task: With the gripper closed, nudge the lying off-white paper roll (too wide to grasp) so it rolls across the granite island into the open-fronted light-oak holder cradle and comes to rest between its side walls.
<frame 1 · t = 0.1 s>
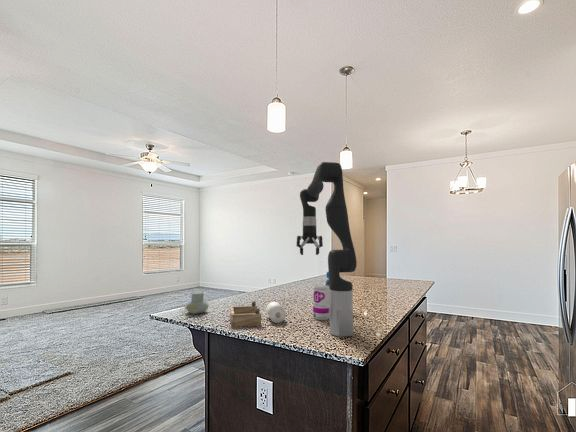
hand: (309, 254, 171), 29 cm above the table, fingers open, 8 cm apart
supplement can: (321, 318, 149), on the table
holder: (245, 321, 143), on the table
air freshener: (197, 313, 160), on the table
roll: (275, 311, 147), point 3 cm above the table
beverage bottle: (333, 309, 168), on the table
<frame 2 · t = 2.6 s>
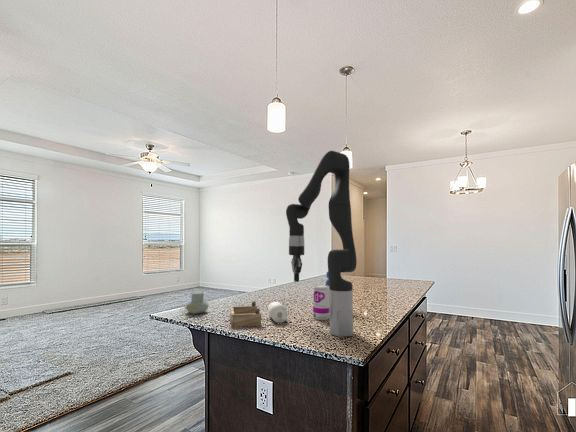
hand: (296, 281, 150), 17 cm above the table, fingers closed
roll: (277, 311, 147), point 3 cm above the table, tilted 14°
everything else where it was.
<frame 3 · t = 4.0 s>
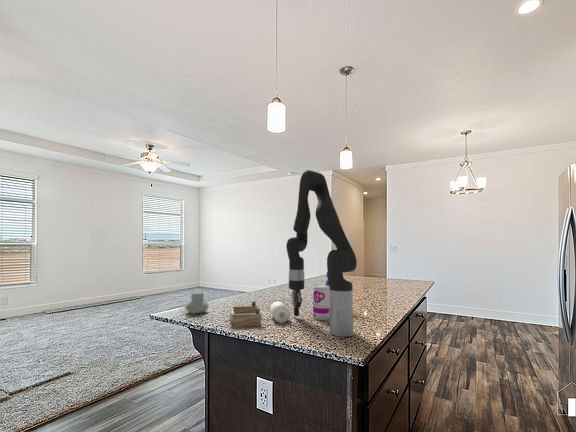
hand: (296, 315, 149), 1 cm above the table, fingers closed
roll: (279, 311, 147), point 3 cm above the table, tilted 30°
everything else where it was.
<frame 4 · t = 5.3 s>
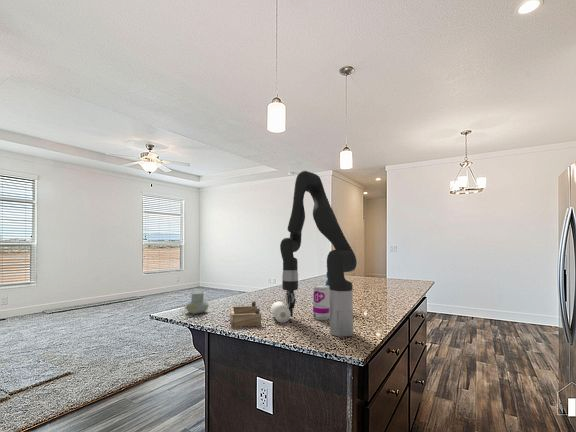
hand: (290, 316, 148), 1 cm above the table, fingers closed
roll: (280, 311, 147), point 3 cm above the table, tilted 38°, touching gripper
everything else where it was.
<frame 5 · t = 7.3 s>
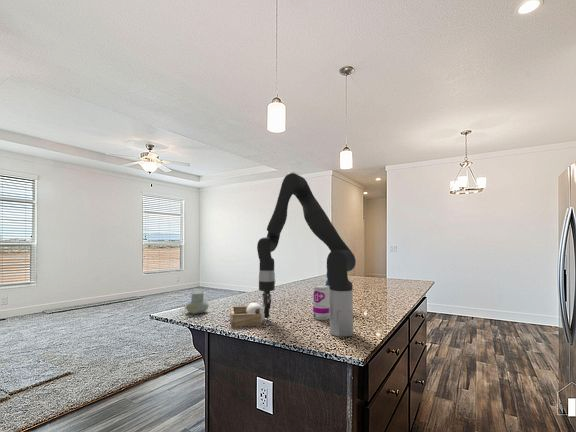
hand: (266, 317, 146), 1 cm above the table, fingers closed
roll: (255, 312, 145), point 3 cm above the table, tilted 155°
everything else where it was.
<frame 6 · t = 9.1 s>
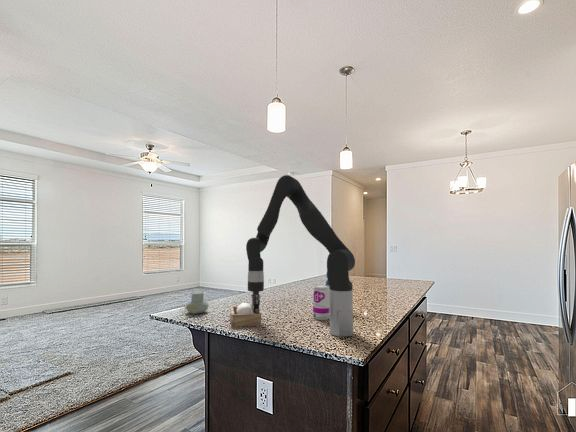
hand: (255, 318, 145), 1 cm above the table, fingers closed
roll: (245, 313, 144), point 3 cm above the table, tilted 128°
everything else where it was.
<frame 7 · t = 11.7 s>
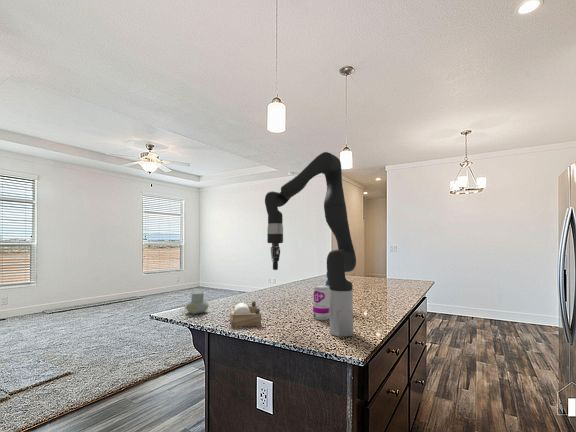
hand: (275, 269, 148), 23 cm above the table, fingers closed
roll: (242, 313, 143), point 3 cm above the table, tilted 107°
everything else where it was.
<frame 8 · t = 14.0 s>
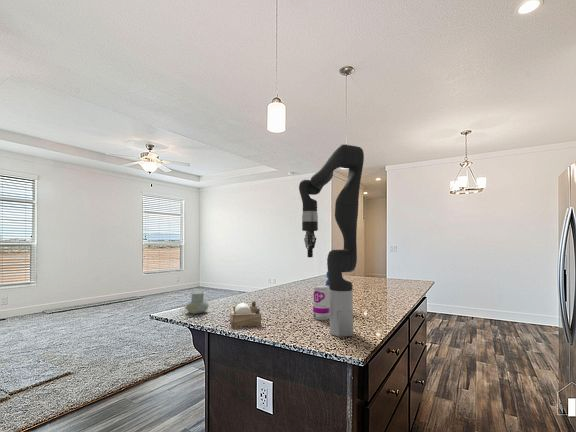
hand: (310, 257, 149), 29 cm above the table, fingers closed
roll: (243, 313, 144), point 3 cm above the table, tilted 115°
everything else where it was.
at the end: roll inside the target area on the holder (1.1 cm from its centre), point 3.5 cm above the holder's base; roll moved 15.0 cm from its start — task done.
